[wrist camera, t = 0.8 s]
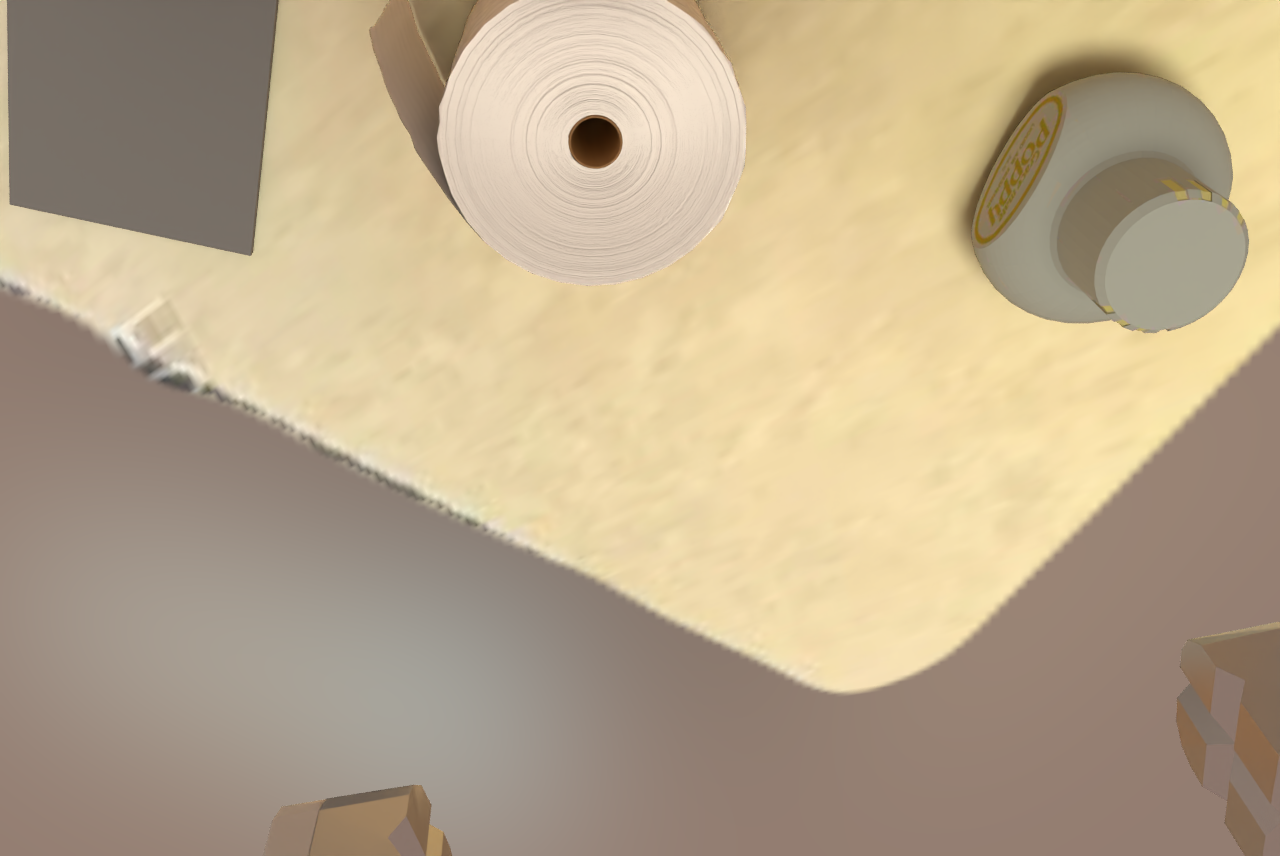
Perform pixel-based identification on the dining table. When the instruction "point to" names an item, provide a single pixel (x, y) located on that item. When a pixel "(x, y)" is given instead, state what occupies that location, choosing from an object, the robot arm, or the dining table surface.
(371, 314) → the dining table surface
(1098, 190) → the air freshener
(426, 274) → the dining table surface
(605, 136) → the toilet tissue
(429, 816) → the robot arm
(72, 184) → the mat
